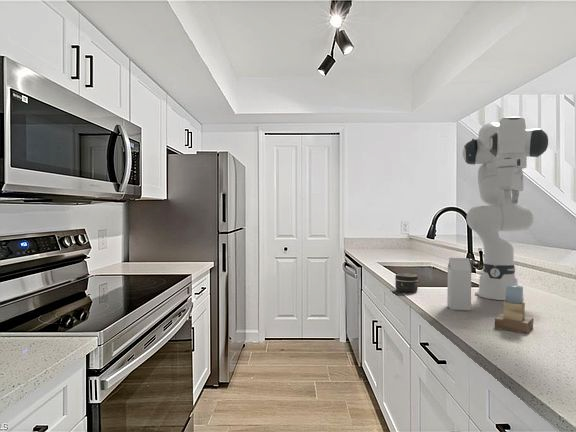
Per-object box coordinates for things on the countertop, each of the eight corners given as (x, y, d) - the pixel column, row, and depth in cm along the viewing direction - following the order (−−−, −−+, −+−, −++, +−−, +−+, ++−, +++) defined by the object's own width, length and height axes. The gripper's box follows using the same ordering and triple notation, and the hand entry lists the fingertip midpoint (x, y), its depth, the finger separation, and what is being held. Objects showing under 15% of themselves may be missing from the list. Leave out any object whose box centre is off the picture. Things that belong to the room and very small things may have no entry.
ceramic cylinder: (507, 299, 136) (507, 284, 136) (524, 302, 133) (524, 286, 133) (503, 302, 132) (503, 286, 132) (520, 304, 129) (521, 288, 129)
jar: (391, 292, 191) (392, 275, 191) (399, 288, 199) (399, 272, 199) (413, 294, 185) (413, 277, 185) (420, 291, 194) (421, 274, 194)
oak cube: (507, 315, 136) (507, 299, 136) (524, 317, 133) (524, 302, 133) (503, 318, 132) (503, 302, 132) (521, 321, 129) (521, 304, 129)
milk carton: (471, 311, 155) (471, 259, 154) (450, 310, 156) (450, 258, 156) (466, 306, 161) (467, 257, 161) (447, 305, 163) (447, 256, 163)
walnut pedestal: (501, 322, 139) (502, 313, 139) (533, 327, 133) (533, 317, 133) (494, 328, 132) (494, 318, 132) (527, 333, 126) (527, 323, 126)
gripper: (509, 166, 155) (508, 204, 155) (494, 161, 139) (493, 203, 140) (528, 165, 151) (528, 204, 151) (515, 159, 135) (515, 203, 135)
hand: (511, 203), depth 145 cm, fingers open, 8 cm apart
